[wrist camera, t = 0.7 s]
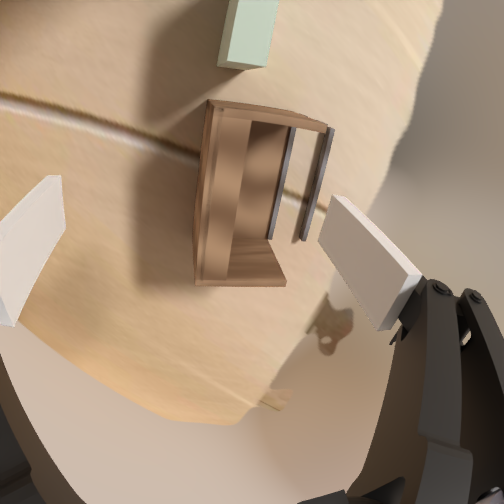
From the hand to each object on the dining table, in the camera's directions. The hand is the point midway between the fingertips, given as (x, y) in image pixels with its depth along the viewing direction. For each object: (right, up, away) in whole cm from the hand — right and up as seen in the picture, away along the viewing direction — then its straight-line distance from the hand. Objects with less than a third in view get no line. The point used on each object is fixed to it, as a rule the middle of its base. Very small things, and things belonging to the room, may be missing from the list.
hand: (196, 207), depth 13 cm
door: (+1, +23, +12) cm, 26 cm away
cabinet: (+4, +7, +23) cm, 25 cm away
